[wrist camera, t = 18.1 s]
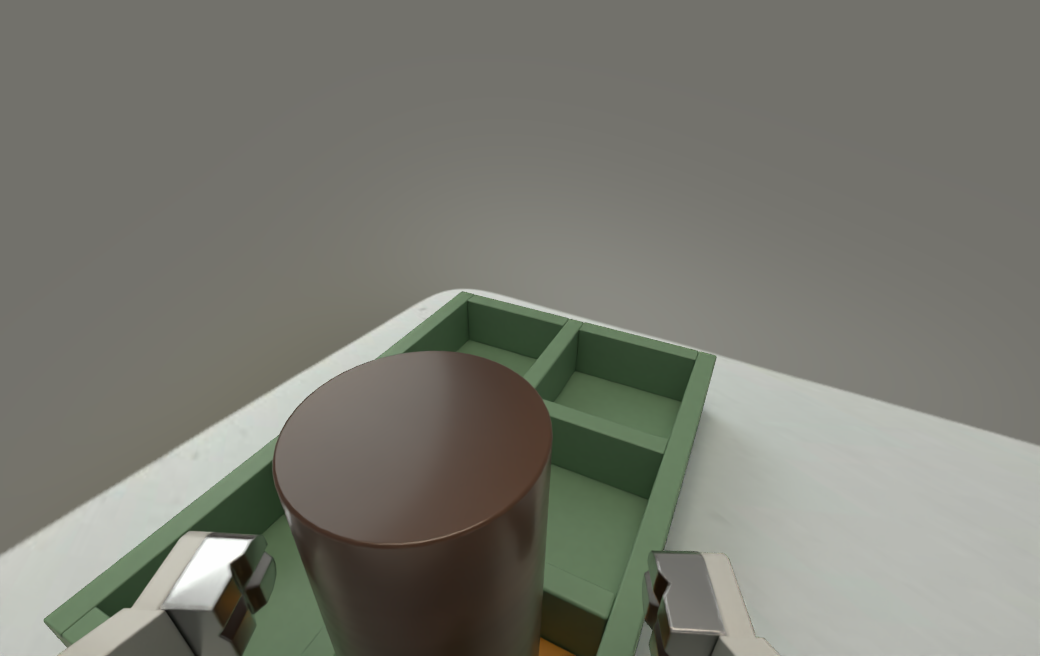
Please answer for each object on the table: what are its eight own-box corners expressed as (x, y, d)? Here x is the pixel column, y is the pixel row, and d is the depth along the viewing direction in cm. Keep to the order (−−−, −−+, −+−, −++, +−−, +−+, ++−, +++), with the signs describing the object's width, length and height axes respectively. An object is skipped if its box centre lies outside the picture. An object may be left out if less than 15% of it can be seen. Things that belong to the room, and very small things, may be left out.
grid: (702, 407, 24) (717, 355, 23) (525, 1047, 9) (529, 1029, 8) (464, 338, 29) (462, 290, 28) (95, 679, 14) (41, 619, 12)
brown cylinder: (573, 674, 14) (613, 383, 8) (491, 901, 10) (472, 648, 5) (432, 599, 15) (391, 318, 10) (319, 772, 12) (167, 480, 7)
